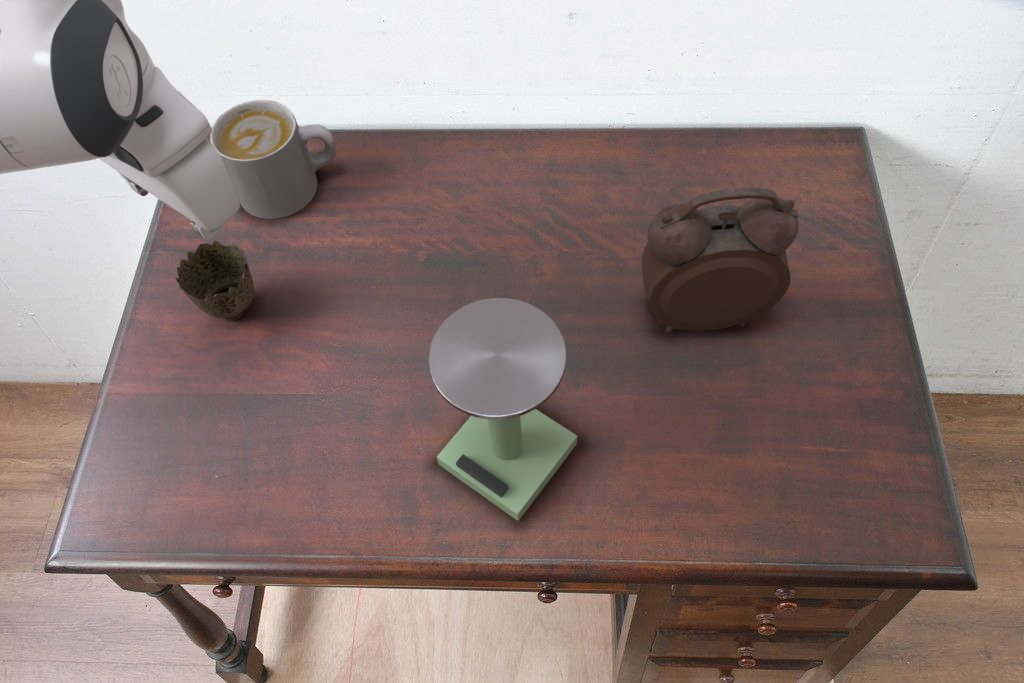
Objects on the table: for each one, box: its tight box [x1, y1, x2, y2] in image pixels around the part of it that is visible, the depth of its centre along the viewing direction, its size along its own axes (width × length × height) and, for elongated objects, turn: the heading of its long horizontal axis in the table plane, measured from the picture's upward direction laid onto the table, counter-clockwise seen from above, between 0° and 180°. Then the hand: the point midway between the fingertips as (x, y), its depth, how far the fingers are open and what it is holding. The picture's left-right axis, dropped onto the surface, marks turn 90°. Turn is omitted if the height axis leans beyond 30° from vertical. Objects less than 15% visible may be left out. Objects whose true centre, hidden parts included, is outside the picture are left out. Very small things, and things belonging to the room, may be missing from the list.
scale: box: [436, 408, 578, 522], centre depth 73 cm, size 10×10×18 cm
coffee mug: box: [209, 99, 337, 220], centre depth 96 cm, size 13×10×10 cm
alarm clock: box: [641, 187, 800, 333], centre depth 80 cm, size 15×7×20 cm, turn 94°
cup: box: [175, 240, 255, 321], centre depth 87 cm, size 8×7×8 cm
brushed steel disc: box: [428, 297, 567, 420], centre depth 64 cm, size 11×11×2 cm
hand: (176, 210), depth 76 cm, fingers open, 8 cm apart
